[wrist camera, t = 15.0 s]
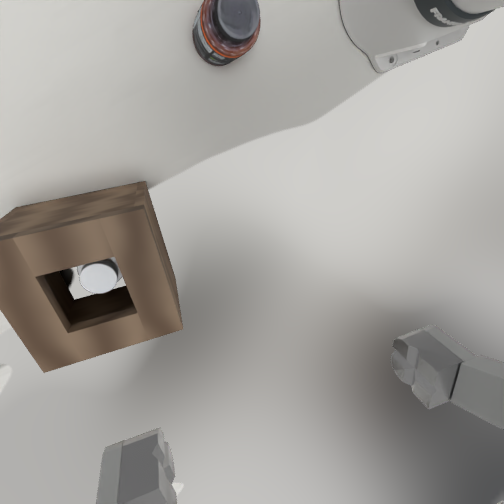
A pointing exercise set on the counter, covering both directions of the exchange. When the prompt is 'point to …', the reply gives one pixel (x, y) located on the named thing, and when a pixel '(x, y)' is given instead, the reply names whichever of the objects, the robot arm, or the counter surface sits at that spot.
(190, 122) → the counter surface
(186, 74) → the counter surface
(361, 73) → the counter surface
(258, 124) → the counter surface
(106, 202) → the box
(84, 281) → the supplement bottle
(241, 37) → the supplement bottle
